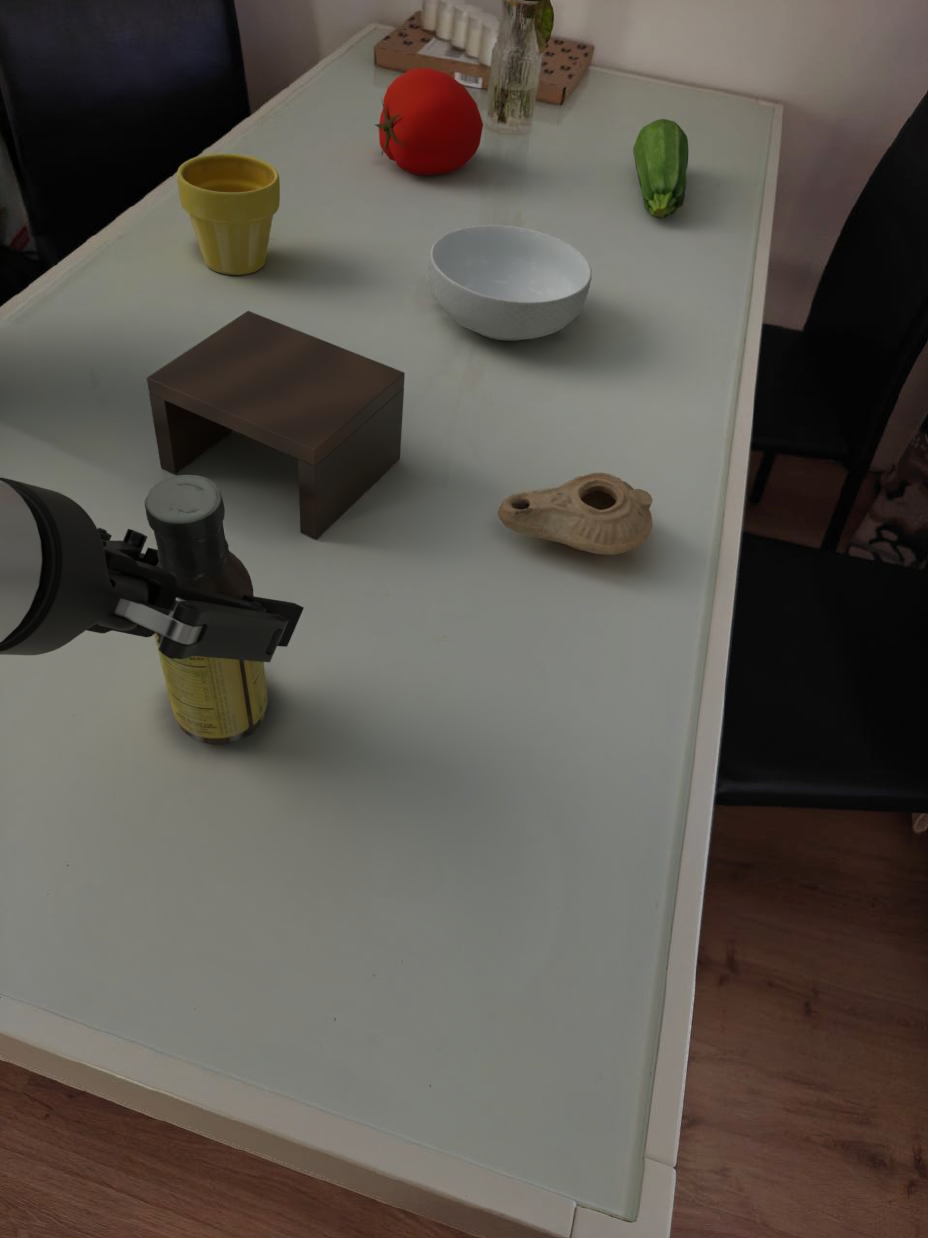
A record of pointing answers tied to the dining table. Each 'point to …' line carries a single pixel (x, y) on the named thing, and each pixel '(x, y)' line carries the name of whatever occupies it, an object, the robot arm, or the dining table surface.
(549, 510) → the pottery oil lamp
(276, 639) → the robot arm
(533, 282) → the cereal bowl
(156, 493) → the sauce bottle
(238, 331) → the shelf
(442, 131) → the tomato
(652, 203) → the vegetable
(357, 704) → the dining table surface
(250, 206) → the flower pot
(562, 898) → the dining table surface
